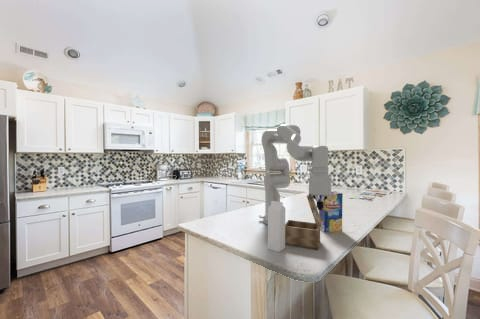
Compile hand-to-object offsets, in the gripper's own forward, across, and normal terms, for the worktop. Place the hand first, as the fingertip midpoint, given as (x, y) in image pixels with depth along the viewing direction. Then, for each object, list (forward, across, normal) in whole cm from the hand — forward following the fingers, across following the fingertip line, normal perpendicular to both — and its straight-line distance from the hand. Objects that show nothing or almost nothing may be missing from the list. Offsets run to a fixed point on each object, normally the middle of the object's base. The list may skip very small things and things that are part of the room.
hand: (320, 209), depth 110 cm
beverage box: (+18, +4, +28) cm, 34 cm away
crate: (+18, -8, 0) cm, 19 cm away
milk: (+18, -19, -12) cm, 28 cm away
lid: (+1, -3, 0) cm, 3 cm away
